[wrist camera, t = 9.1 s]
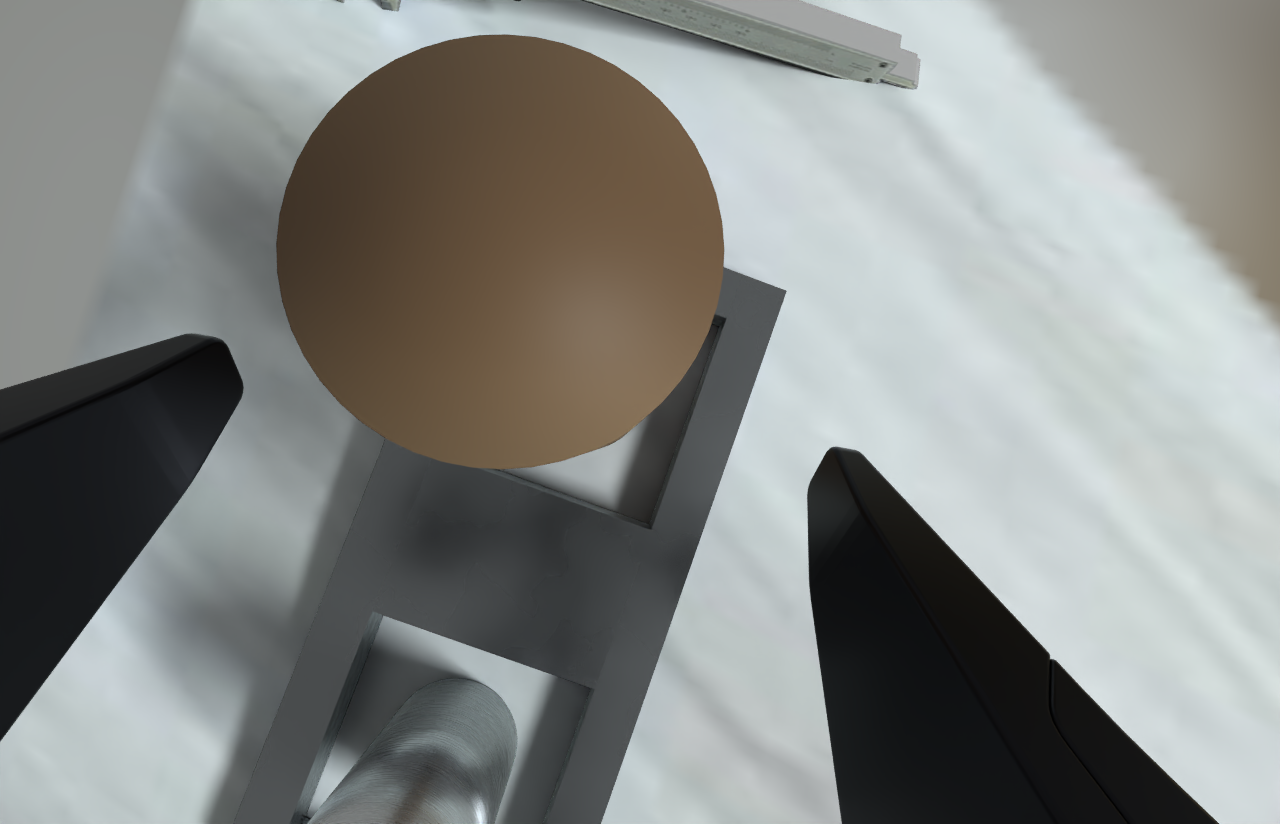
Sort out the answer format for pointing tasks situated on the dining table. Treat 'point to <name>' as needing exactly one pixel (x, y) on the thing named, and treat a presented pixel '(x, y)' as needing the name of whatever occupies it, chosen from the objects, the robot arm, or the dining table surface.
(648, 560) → the plate
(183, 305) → the dining table surface
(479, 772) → the steel pin
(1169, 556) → the dining table surface
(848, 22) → the caliper
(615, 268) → the walnut pin
